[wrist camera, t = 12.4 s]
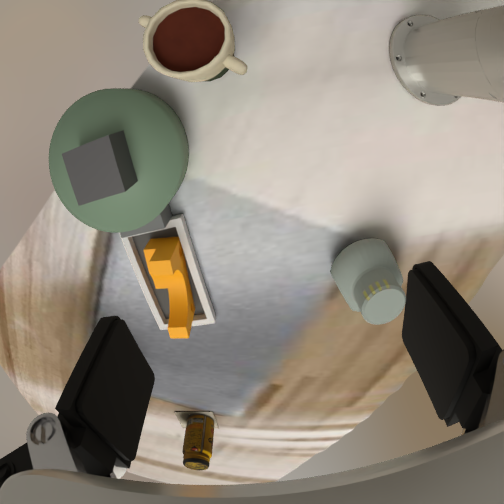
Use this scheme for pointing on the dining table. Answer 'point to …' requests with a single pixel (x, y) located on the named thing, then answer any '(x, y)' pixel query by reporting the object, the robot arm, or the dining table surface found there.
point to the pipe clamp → (172, 282)
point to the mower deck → (145, 148)
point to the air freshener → (370, 280)
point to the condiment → (197, 438)
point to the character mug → (190, 41)
